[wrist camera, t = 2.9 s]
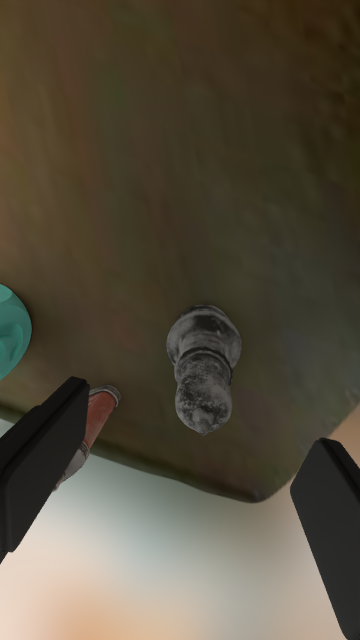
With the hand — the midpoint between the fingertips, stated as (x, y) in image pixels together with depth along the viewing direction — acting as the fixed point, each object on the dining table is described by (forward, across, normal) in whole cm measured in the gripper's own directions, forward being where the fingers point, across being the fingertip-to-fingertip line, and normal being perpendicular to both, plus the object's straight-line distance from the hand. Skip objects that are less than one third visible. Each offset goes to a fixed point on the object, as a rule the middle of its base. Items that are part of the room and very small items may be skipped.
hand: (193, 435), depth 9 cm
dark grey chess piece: (+12, 0, 0) cm, 12 cm away
